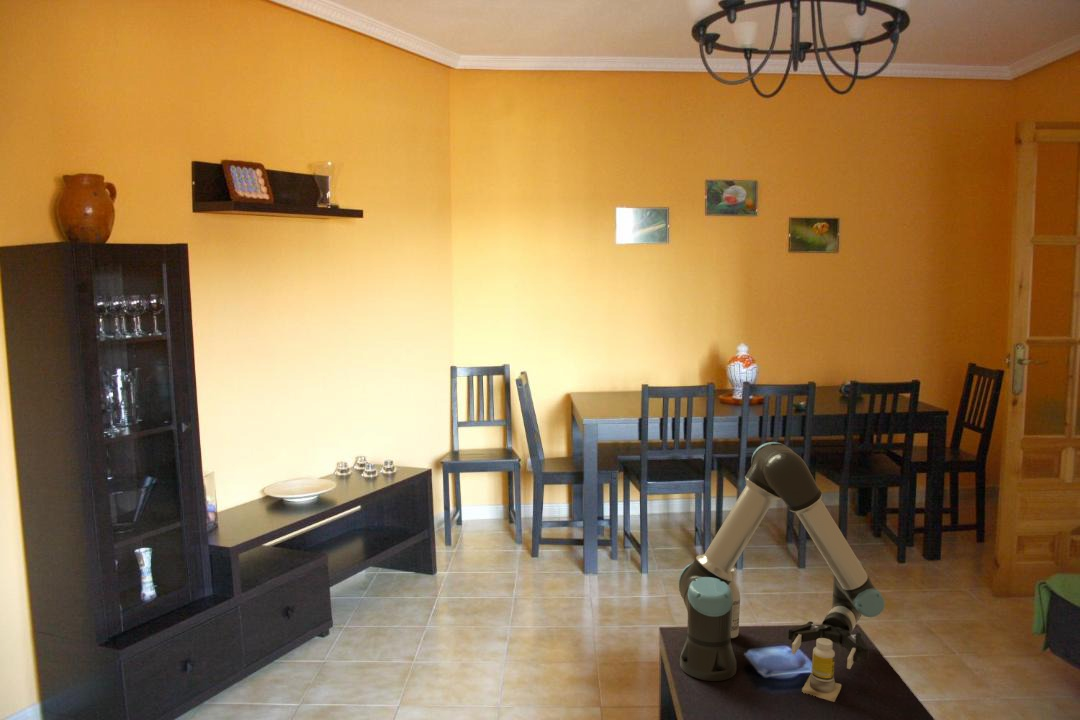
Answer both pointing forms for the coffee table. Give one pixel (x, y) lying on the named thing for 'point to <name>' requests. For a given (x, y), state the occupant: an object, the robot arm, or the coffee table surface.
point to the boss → (822, 688)
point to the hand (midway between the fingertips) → (820, 656)
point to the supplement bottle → (823, 660)
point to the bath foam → (734, 606)
